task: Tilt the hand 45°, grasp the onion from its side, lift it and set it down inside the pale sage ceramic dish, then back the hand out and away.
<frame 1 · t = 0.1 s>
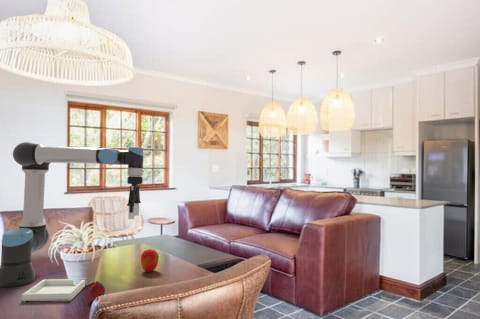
hand: (133, 217, 172), 28 cm above the table, tool pointing down, fingers open, 13 cm apart
onion: (96, 300, 132), on the table
apple: (149, 271, 172), on the table
dish: (56, 293, 139), on the table
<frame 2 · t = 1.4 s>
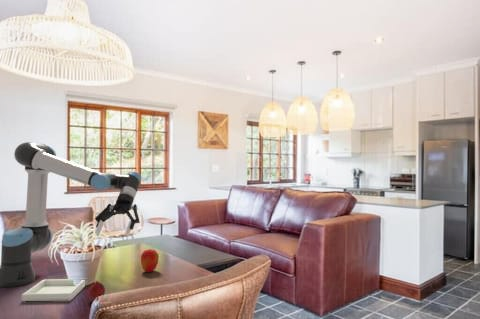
hand: (111, 234, 146), 24 cm above the table, tool tilted 45°, fingers open, 13 cm apart
nothing on the table moved.
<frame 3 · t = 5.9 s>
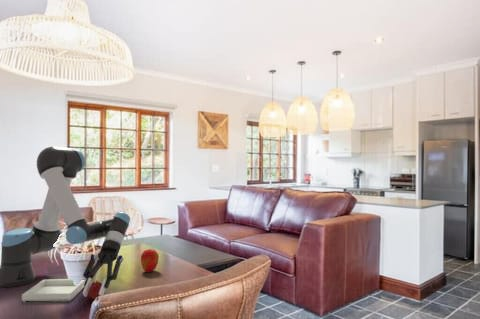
hand: (92, 295, 129), 3 cm above the table, tool tilted 45°, fingers closed on onion, 6 cm apart
onion: (96, 300, 132), on the table, touching gripper
everything else where it was.
when the fingers open (5 cm above the table, at t = 11.6 s): onion drops 1 cm, resting on dish.
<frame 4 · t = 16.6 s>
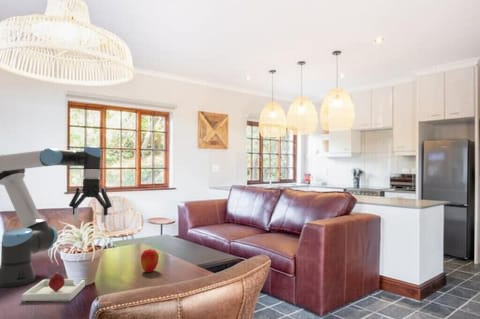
hand: (89, 221, 161), 27 cm above the table, tool pointing down, fingers open, 13 cm apart
onion: (56, 291, 139), point 1 cm above the table, touching dish
everything else where it was.
at the end: onion inside the target area on the dish (0.1 cm from its centre), point 0.6 cm above the dish's base; the gripper is holding nothing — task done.
